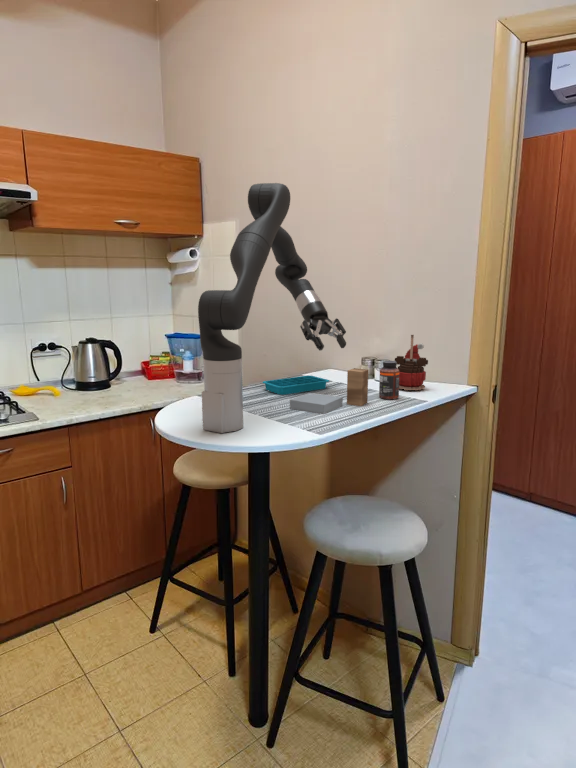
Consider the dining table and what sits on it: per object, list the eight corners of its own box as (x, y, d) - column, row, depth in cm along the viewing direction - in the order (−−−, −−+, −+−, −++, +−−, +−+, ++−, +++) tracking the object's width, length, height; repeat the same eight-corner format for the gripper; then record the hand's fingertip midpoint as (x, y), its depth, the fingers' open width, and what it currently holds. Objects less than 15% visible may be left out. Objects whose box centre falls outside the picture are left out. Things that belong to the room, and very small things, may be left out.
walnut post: (360, 406, 148) (361, 371, 146) (346, 404, 150) (347, 370, 148) (367, 403, 152) (368, 369, 150) (353, 401, 154) (354, 368, 152)
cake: (390, 390, 169) (392, 335, 166) (397, 384, 178) (400, 332, 174) (422, 393, 165) (425, 337, 161) (429, 387, 173) (432, 334, 169)
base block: (324, 415, 140) (324, 405, 139) (289, 410, 146) (289, 399, 145) (342, 407, 149) (342, 397, 148) (309, 402, 155) (309, 392, 154)
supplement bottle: (397, 395, 161) (399, 360, 159) (399, 400, 155) (401, 363, 153) (378, 395, 162) (379, 359, 159) (379, 399, 156) (380, 362, 154)
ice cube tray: (261, 390, 171) (260, 381, 170) (310, 383, 182) (310, 375, 181) (280, 397, 161) (280, 387, 161) (330, 389, 172) (330, 380, 172)
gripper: (297, 300, 158) (319, 341, 151) (334, 299, 166) (356, 338, 159) (288, 316, 164) (309, 357, 157) (324, 314, 171) (345, 353, 164)
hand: (333, 347), depth 158 cm, fingers open, 8 cm apart
